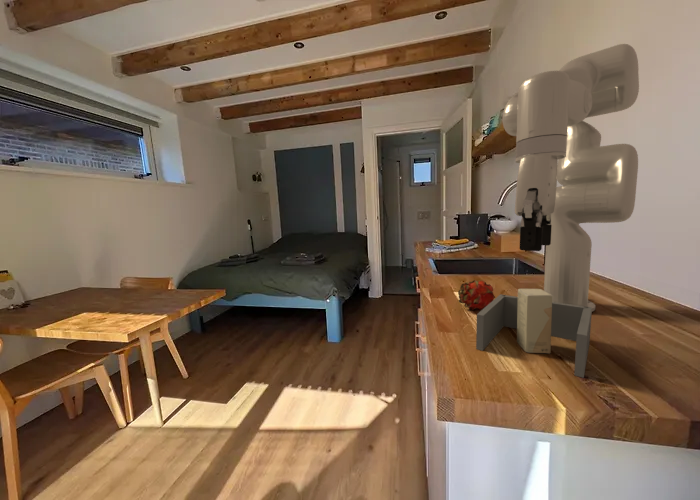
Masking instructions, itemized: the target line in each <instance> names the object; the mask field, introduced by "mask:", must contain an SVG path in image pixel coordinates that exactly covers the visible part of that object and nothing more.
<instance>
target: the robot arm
mask: <svg viewBox="0 0 700 500" xmlns="http://www.w3.org/2000/svg"><path fill="white" fill-rule="evenodd" d="M639 75H640V74H639V59H638V55H637V52H636V50H635V48H634V47H633V46H631V45H630V44H627V43H619V44H617V45H614V46H610V47H607V48H604V49H601V50H597V51H595V52H591V53H588V54H585V55H581V56H578V57H576V58H573V59H571V60H570V61H568V62H567V63H565V64H564V65H562V67H561V68H560V69H559V70H548V71H544V72H539V73H537V74H534V75H531V76H530V77H528V78H526V79H525V80H523V82H522V83H521V84H520V86H519V88H518V91H517V92H516V93H515V94H513V95H512V96H511V97H510V99H509V100H508V101H507V103H506V104H505V106H504V109H503V112H502V126H503V129H504V130H505V132H506V134H508V135H510V136H511V137H516V139H515V142H516V143H515V144H516V145H515V163H516V164H518V171H517V180H516V189H515V190H516V192H515V201H514V214H515V215H516V216H518V217H521V221H520V228H519V229H520V230H519V250H520V251H523V252H524V251H525V252H527V251H529V252H531V251H532V252H540V251H542V249H543V248H542V247H543V246H545V258H544V259H545V260H544V283H543V291H545V292H547V293H549V294H550V295H552V302H558V303H565V304H572V305H579V306H586V307H592V312H595V310H596V304H595V303H593V302H592V301H590V300H589V292H590V291H589V289H590V276H591V275H590V273H591V261H592V260H591V259H592V239H591V236H590V235H589V233H587V231H586V230H585V229H583V227H581V225H580V224H590V223H591V224H601V223H603V224H606V223H611V224H612V223H623V222H625V221H627V220H629V219H630V218H631V217H632V215H633V213H634V210H635V205H636V194H637V183H638V173H639V154H638V151H637V150H636V147H635V146H633V145H632V144H630V143H629V144H628V143H616V144H610V145H609V144H608V145H601V141H602V134H601V132H600V131H599V130H598V129H597V128H596V127H594V125H592V124H590V123H588V122H586V121H584V120H585V119H587V118H592V117H597V116H601V115H603V116H604V115H608V114H612V113H617V112H622V111H625V110H627V109H629V108H631V107H632V106H633V105H634V104H635V103H636V101H637V99H638V96H639V92H640V91H639V90H640V78H639V77H640V76H639ZM557 183H558V184H560V186H557V185H558V184H557Z"/></svg>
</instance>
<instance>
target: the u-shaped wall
mask: <svg viewBox="0 0 700 500" xmlns="http://www.w3.org/2000/svg"><path fill="white" fill-rule="evenodd" d="M517 314H518V296H514V295H507V294H499V295H497V297H495V298H494V300H493V301H492V302H491V303H490V304H488V305H487V306H486V307H485V308H484V309H483V310H479V311H478V312H477V313H476V334H475V335H476V338H475V339H476V340H475V341H476V343H475V345H476V347H475V349H476V350H478V351H482V352H483V351H484V350H485V349H486V348H487V346H488V345H489V344H490V343H491V341H493V339H495V337H496V336H497V334H499V332H501V330H502V329H503V328H504V327H507V328H510V329H516V330H517ZM592 315H593V314H592V307H586V306H579V305H572V304H565V303H558V302H552V322H551V337H555V338H559V339H560V338H561V339H563V340H564V339H565V340H569V341H573V342H575V356H574V357H575V358H574V360H575V361H574V376H576V377H579V378H583V379H584V378H585V373H586V372H585V371H586V366H587V361H588V360H587V359H588V356H589V355H588V353H589V347H590V340H591V328H592Z"/></svg>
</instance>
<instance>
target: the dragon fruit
mask: <svg viewBox="0 0 700 500" xmlns="http://www.w3.org/2000/svg"><path fill="white" fill-rule="evenodd" d="M457 293H458V295H457V296H458V302H459V303H460V304H464V307H465V308H468V309H469V310H470V311H474V310H475V309H478V310H479V311H481V310H483V309H484V308H485V307H486V306H487V305H488V304H490V303H491V302H492V301H493V300H494V299H495V298H496V295H495V294H494V288H493V286H492V285H491V284H489V283H487V282H486V281H485V280H483V279H482V280H478V281H477V280H475V279H474V280H471V281H468V282H465V283H462V284H461V285H460V288H459V290H458V292H457Z"/></svg>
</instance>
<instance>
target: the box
mask: <svg viewBox="0 0 700 500" xmlns="http://www.w3.org/2000/svg"><path fill="white" fill-rule="evenodd" d="M517 297H518V314H517V329H516V342H517V344H518V345H519V347H521V348H522V350H523V351H524V352H525V353H531V354H532V353H533V354H551V353H552V352H551V351H552V349H551V346H552V336H551V322H552V295H550V294H549V293H547V292H545V291H544V289H542V288H518V289H517Z"/></svg>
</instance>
